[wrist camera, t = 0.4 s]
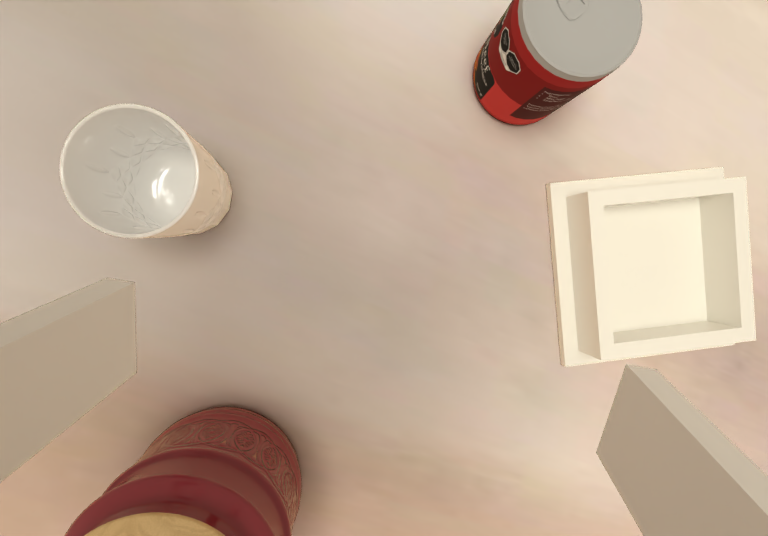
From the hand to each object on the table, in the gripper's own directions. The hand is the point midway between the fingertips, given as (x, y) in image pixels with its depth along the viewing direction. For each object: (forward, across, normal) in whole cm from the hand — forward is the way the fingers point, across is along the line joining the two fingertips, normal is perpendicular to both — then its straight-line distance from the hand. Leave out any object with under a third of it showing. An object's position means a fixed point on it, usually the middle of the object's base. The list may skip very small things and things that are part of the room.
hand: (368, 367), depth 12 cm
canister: (+19, -11, -23) cm, 32 cm away
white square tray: (+29, +22, -2) cm, 36 cm away
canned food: (+31, +8, +12) cm, 34 cm away
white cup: (+24, -18, -1) cm, 30 cm away
